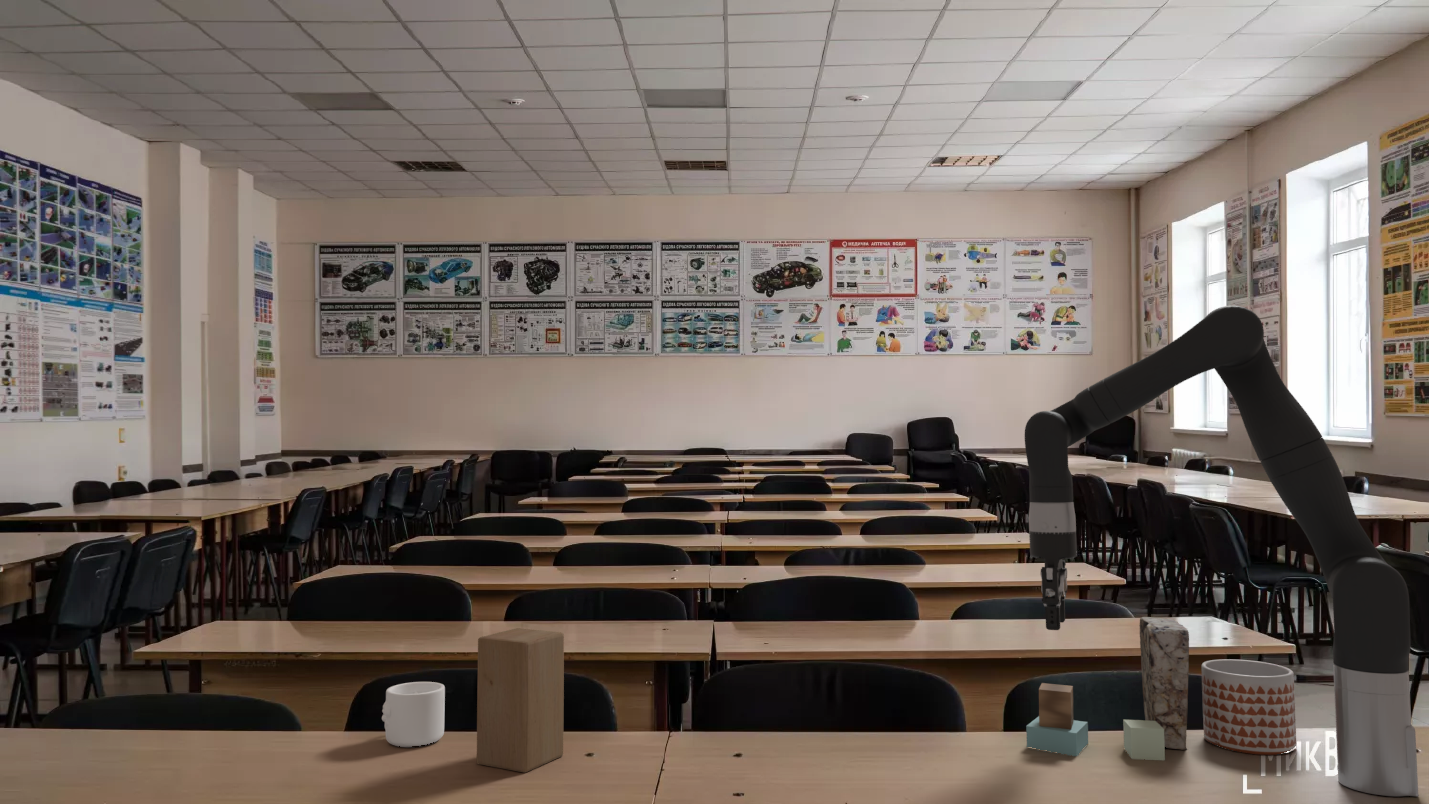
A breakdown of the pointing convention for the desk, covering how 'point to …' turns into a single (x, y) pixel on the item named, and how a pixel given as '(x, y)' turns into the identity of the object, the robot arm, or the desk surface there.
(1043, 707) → the walnut block
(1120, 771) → the desk surface
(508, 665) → the wooden block
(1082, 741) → the teal pedestal
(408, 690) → the mug
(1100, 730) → the desk surface
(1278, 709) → the planter
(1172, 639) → the stone block
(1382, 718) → the robot arm
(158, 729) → the desk surface
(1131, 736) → the sage block
